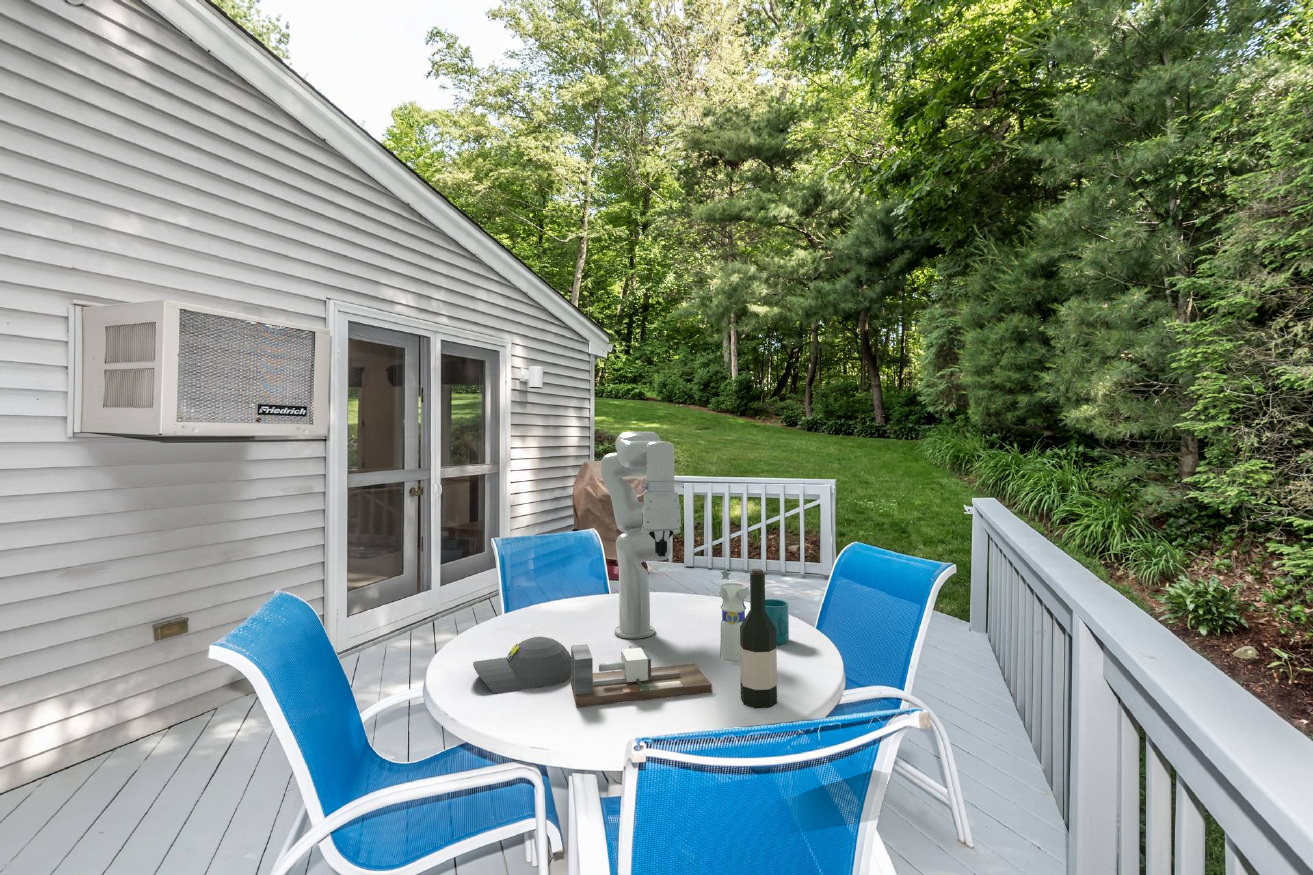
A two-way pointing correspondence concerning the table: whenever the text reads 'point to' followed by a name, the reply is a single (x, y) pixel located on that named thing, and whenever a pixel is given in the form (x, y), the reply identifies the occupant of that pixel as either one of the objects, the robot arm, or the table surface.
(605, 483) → the robot arm
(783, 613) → the cup
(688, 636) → the table surface
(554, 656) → the baseball cap
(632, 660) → the white block grey face
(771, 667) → the wine bottle
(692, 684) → the base
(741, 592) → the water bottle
